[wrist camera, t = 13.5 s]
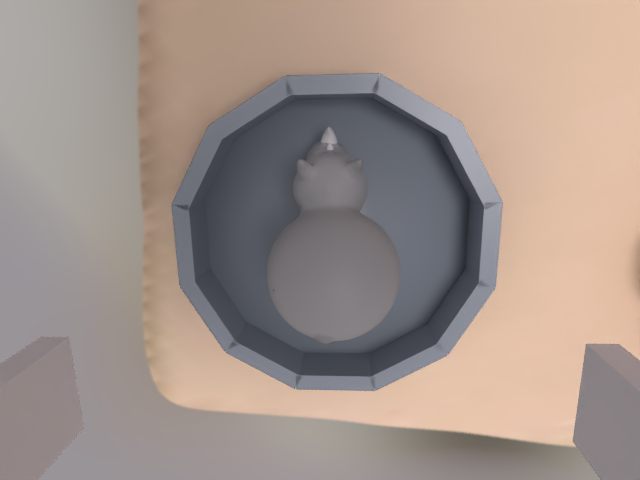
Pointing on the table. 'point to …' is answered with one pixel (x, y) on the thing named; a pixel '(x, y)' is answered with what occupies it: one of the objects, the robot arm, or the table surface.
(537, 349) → the table surface
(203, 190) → the round tray
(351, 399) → the table surface
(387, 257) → the round bodied animal figurine
